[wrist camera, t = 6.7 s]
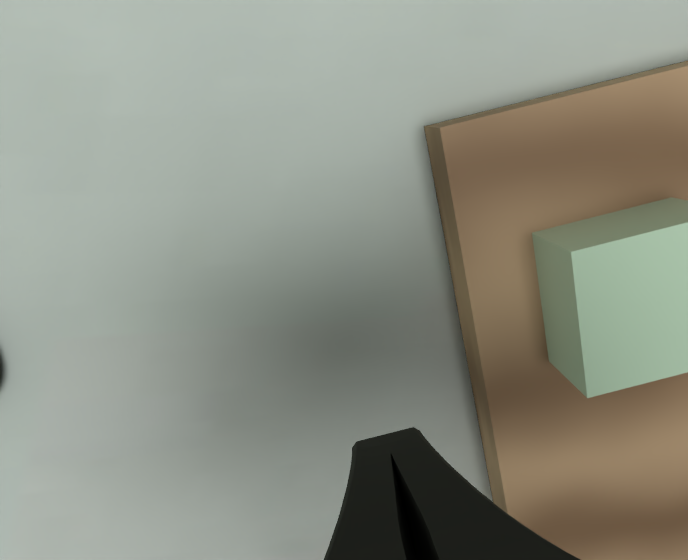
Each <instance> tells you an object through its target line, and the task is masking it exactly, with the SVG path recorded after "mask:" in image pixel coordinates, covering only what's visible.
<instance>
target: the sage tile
mask: <svg viewBox="0 0 688 560" xmlns="http://www.w3.org/2000/svg"><path fill="white" fill-rule="evenodd" d="M532 238H533V245H534V253H535V260H536V268H537V275H538V283H539V290H540V298H541V305H542V313H543V320H544V328H545V335H546V343H547V350H548V358H549V362H550V363H551V364H552V365H553V366H554V367H555V368H557V369H558V370H559V371H560V372H561V373H562V374H563V375H564V376H565V377H566V378H567V379H568V380H569V381H570V382H571V383H572V384H573V385H574V386H575V387H576V388H577V389H578V390H579V391H580V392H581V393H583V394H584V395H585V396H586V397H587V398H590V397H594V396H598V395H602V394H606V393H610V392H613V391H617V390H621V389H625V388H629V387H633V386H637V385H641V384H644V383H648V382H652V381H656V380H660V379H664V378H668V377H672V376H675V375H679V374H683V373H687V372H688V201H687V200H682V199H677V198H673V197H671V198H667V199H663V200H659V201H655V202H651V203H647V204H643V205H639V206H635V207H632V208H628V209H624V210H620V211H616V212H612V213H608V214H604V215H600V216H596V217H592V218H588V219H584V220H580V221H576V222H572V223H568V224H564V225H560V226H556V227H553V228H549V229H545V230H541V231H537V232H533V233H532Z"/></svg>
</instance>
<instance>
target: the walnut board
mask: <svg viewBox="0 0 688 560" xmlns="http://www.w3.org/2000/svg"><path fill="white" fill-rule="evenodd" d="M424 129H425V134H426V140H427V145H428V151H429V156H430V162H431V167H432V172H433V178H434V183H435V189H436V194H437V200H438V205H439V210H440V216H441V221H442V227H443V232H444V238H445V243H446V248H447V254H448V259H449V265H450V270H451V275H452V281H453V286H454V292H455V297H456V303H457V308H458V313H459V319H460V324H461V330H462V335H463V341H464V346H465V351H466V357H467V362H468V368H469V373H470V378H471V384H472V389H473V395H474V400H475V406H476V411H477V416H478V422H479V427H480V433H481V438H482V444H483V449H484V454H485V460H486V465H487V471H488V476H489V482H490V487H491V492H492V498H493V503H494V504H496V505H497V506H498V507H499V508H501V509H502V510H503V511H505V512H506V513H507V514H509V515H510V516H511V517H513V518H514V519H516V520H517V521H519V522H520V523H521V524H523V525H524V526H526V527H527V528H529V529H530V530H532V531H533V532H535V533H536V534H538V535H539V536H541V537H543V538H544V539H546V540H547V541H549V542H551V543H552V544H554V545H556V546H557V547H559V548H561V549H562V550H564V551H566V552H567V553H569V554H571V555H573V556H575V557H577V558H579V559H581V560H688V372H687V373H683V374H679V375H675V376H672V377H668V378H664V379H660V380H656V381H652V382H648V383H644V384H641V385H637V386H633V387H629V388H625V389H621V390H617V391H613V392H610V393H606V394H602V395H598V396H594V397H590V398H587V397H586V396H585V395H584V394H583V393H581V392H580V391H579V390H578V389H577V388H576V387H575V386H574V385H573V384H572V383H571V382H570V381H569V380H568V379H567V378H566V377H565V376H564V375H563V374H562V373H561V372H560V371H559V370H558V369H557V368H555V367H554V366H553V365H552V364H551V363H550V362H549V358H548V350H547V343H546V335H545V328H544V320H543V313H542V305H541V298H540V290H539V283H538V275H537V268H536V260H535V253H534V245H533V238H532V233H533V232H537V231H541V230H545V229H549V228H553V227H556V226H560V225H564V224H568V223H572V222H576V221H580V220H584V219H588V218H592V217H596V216H600V215H604V214H608V213H612V212H616V211H620V210H624V209H628V208H632V207H635V206H639V205H643V204H647V203H651V202H655V201H659V200H663V199H667V198H671V197H673V198H677V199H682V200H687V201H688V61H684V62H680V63H676V64H672V65H668V66H664V67H660V68H656V69H652V70H648V71H644V72H640V73H636V74H632V75H628V76H624V77H620V78H616V79H612V80H608V81H604V82H600V83H596V84H592V85H588V86H584V87H580V88H576V89H572V90H568V91H564V92H560V93H556V94H552V95H548V96H544V97H540V98H536V99H532V100H528V101H524V102H520V103H516V104H512V105H508V106H504V107H500V108H496V109H492V110H488V111H484V112H480V113H476V114H472V115H468V116H464V117H460V118H456V119H452V120H448V121H444V122H440V123H436V124H432V125H428V126H424Z"/></svg>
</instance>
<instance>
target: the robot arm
mask: <svg viewBox="0 0 688 560" xmlns="http://www.w3.org/2000/svg"><path fill="white" fill-rule="evenodd" d="M324 560H581V559H579V558H577V557H575V556H573V555H571V554H569V553H567V552H566V551H564V550H562V549H561V548H559V547H557V546H556V545H554V544H552V543H551V542H549V541H547V540H546V539H544V538H543V537H541V536H539V535H538V534H536V533H535V532H533V531H532V530H530V529H529V528H527V527H526V526H524V525H523V524H521V523H520V522H519V521H517V520H516V519H514V518H513V517H511V516H510V515H509V514H507V513H506V512H505V511H503V510H502V509H501V508H499V507H498V506H497V505H496V504H494V503H493V502H492V501H491V500H489V499H488V498H487V497H485V496H484V495H483V494H482V493H481V492H479V491H478V490H477V489H476V488H475V487H474V486H472V485H471V484H470V483H469V482H468V481H467V480H466V479H465V478H464V477H462V476H461V475H460V474H459V473H458V472H457V471H456V470H455V469H454V468H453V467H452V466H451V465H450V464H449V463H448V462H446V461H445V459H444V458H443V457H442V456H441V455H440V454H439V453H438V452H437V451H436V450H435V449H434V448H433V447H432V446H431V445H430V443H429V442H428V441H427V440H426V439H425V437H424V436H423V435H422V433H421V432H420V431H419V430H417V429H416V428H414V427H412V428H408V429H404V430H401V431H397V432H393V433H389V434H385V435H381V436H377V437H373V438H369V439H365V440H361V441H358V442H356V443H355V445H354V446H353V448H352V462H351V469H350V474H349V479H348V484H347V488H346V492H345V496H344V500H343V504H342V507H341V511H340V515H339V518H338V521H337V524H336V527H335V530H334V533H333V536H332V539H331V541H330V544H329V547H328V550H327V553H326V555H325V558H324Z"/></svg>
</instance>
